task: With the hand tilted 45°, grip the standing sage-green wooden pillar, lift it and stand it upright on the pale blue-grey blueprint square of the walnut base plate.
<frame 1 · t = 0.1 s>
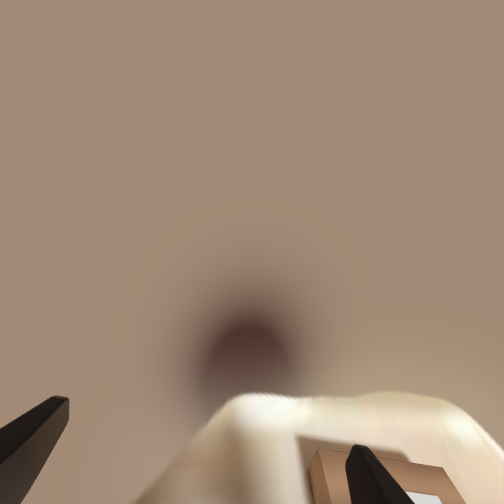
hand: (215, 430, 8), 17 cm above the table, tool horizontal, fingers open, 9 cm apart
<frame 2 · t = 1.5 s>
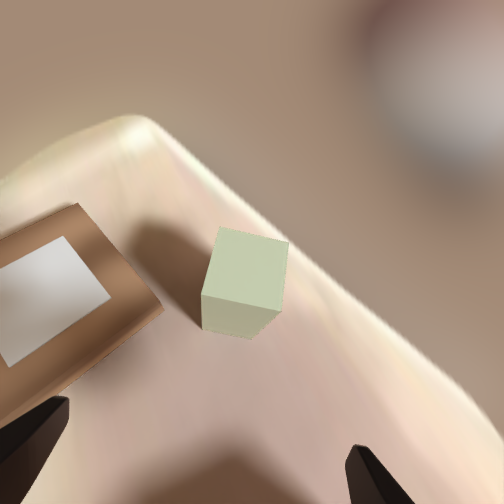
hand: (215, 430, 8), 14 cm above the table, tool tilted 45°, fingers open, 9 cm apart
sage pillar: (232, 310, 24), on the table
walnut base plate: (60, 305, 21), on the table
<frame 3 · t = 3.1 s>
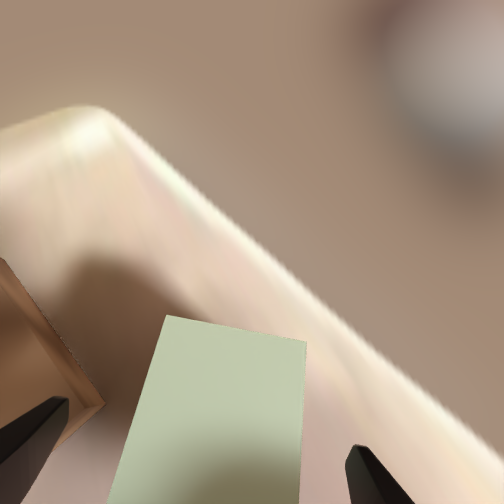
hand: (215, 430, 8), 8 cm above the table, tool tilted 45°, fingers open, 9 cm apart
sage pillar: (212, 395, 16), on the table
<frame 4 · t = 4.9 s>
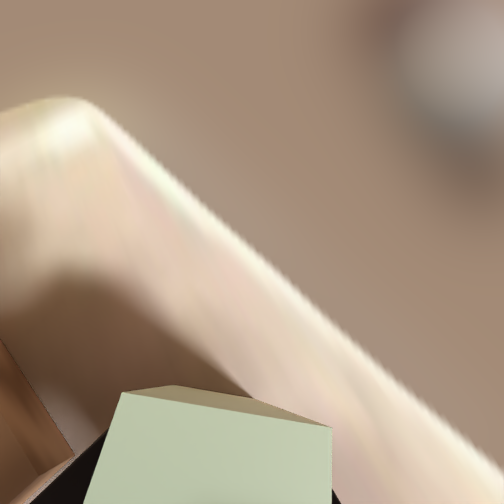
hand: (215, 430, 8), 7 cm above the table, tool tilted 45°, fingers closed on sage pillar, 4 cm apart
sage pillar: (204, 440, 13), on the table, touching gripper
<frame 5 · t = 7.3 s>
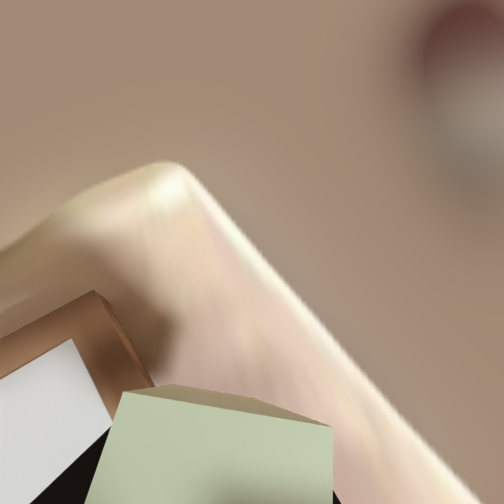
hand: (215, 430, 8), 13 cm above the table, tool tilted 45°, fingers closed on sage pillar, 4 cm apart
sage pillar: (204, 440, 13), point 7 cm above the table, touching gripper
walnut base plate: (59, 417, 18), on the table
when the fingers open (11 cm above the table, at t = 9.7 s): sage pillar drops 1 cm, resting on walnut base plate.
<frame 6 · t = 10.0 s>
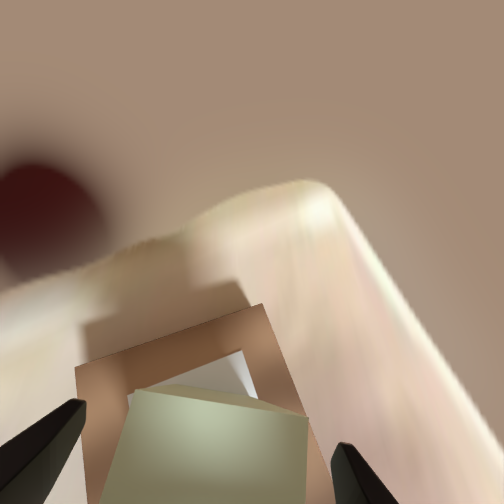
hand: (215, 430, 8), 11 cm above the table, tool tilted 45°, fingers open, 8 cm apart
sage pillar: (204, 435, 14), point 3 cm above the table, touching walnut base plate
walnut base plate: (204, 426, 17), on the table
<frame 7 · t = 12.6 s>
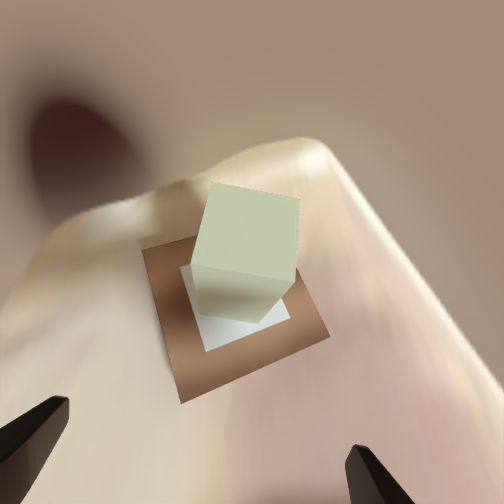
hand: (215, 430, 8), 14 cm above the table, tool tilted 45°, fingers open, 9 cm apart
sage pillar: (233, 291, 21), point 3 cm above the table, touching walnut base plate
walnut base plate: (231, 302, 23), on the table
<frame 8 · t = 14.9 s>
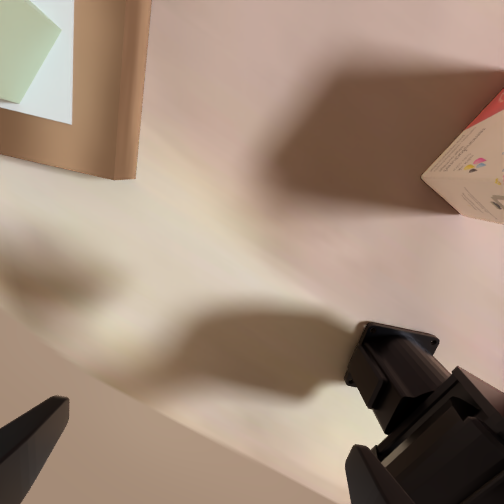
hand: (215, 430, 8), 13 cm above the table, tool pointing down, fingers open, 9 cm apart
walnut base plate: (47, 59, 16), on the table
ink cartridge box: (483, 148, 18), on the table
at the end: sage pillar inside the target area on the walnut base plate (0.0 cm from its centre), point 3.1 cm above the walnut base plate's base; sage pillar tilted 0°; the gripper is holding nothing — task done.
